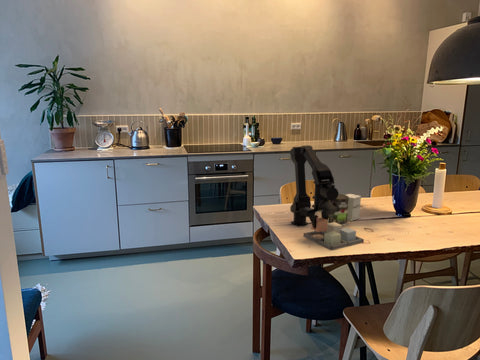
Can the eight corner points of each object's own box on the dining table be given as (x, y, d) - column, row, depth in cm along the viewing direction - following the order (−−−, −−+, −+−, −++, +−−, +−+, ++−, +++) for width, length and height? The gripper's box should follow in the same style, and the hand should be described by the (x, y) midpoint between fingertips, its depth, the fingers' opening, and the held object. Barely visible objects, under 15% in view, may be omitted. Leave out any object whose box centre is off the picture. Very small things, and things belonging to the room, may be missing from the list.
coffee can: (351, 224, 197) (352, 198, 194) (333, 226, 194) (334, 199, 191) (340, 218, 206) (342, 193, 203) (323, 220, 204) (324, 194, 200)
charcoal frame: (303, 236, 181) (303, 226, 180) (334, 229, 190) (334, 219, 189) (331, 250, 165) (331, 239, 163) (363, 242, 173) (364, 231, 172)
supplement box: (351, 221, 202) (353, 198, 199) (339, 218, 208) (341, 195, 205) (359, 218, 207) (361, 195, 204) (348, 215, 212) (349, 193, 209)
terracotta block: (311, 229, 179) (311, 218, 178) (319, 227, 181) (320, 217, 180) (318, 232, 175) (319, 221, 174) (326, 230, 177) (327, 220, 176)
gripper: (316, 201, 163) (314, 236, 167) (349, 196, 172) (346, 229, 175) (300, 195, 173) (298, 228, 176) (331, 190, 181) (330, 222, 185)
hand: (319, 227), depth 178 cm, fingers closed on terracotta block, 5 cm apart
